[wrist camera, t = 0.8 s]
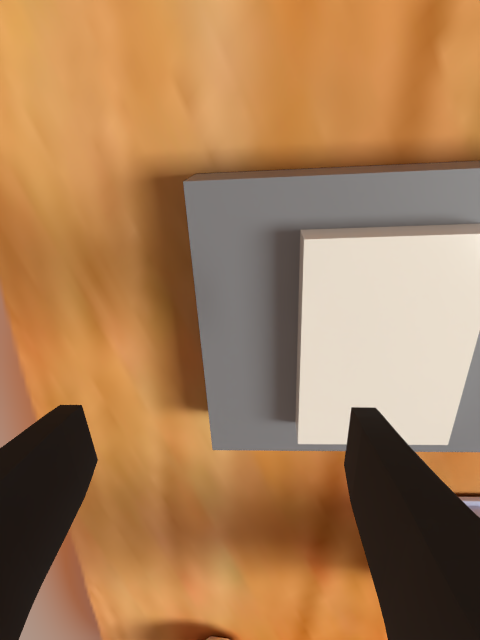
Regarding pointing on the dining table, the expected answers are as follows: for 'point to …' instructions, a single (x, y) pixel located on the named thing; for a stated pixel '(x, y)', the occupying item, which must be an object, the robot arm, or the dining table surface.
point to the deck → (283, 281)
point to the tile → (386, 328)
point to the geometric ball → (216, 638)
